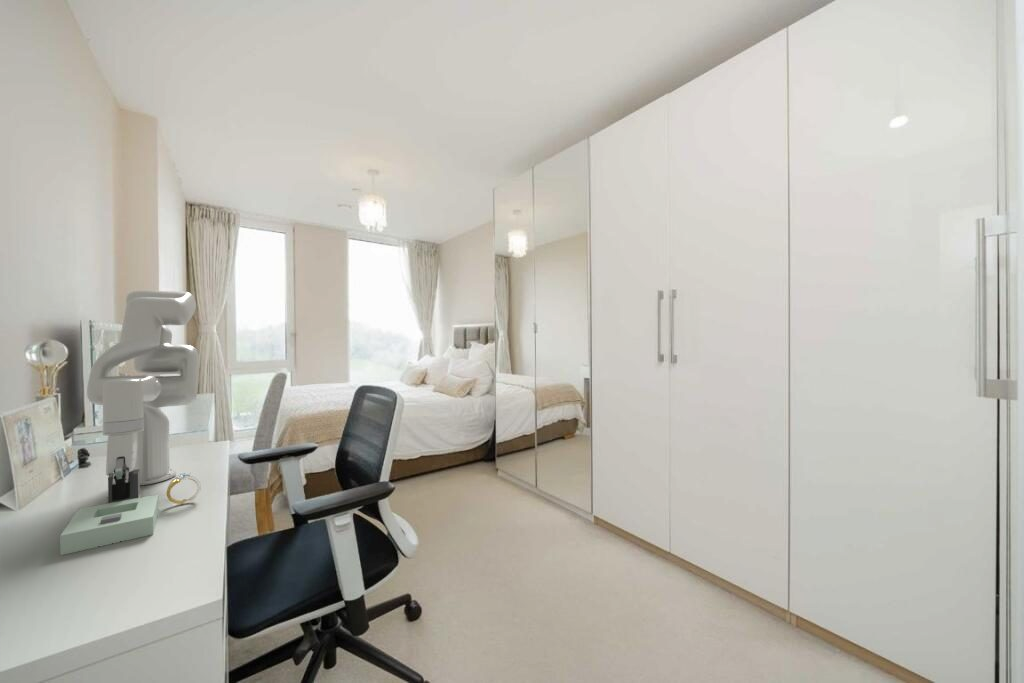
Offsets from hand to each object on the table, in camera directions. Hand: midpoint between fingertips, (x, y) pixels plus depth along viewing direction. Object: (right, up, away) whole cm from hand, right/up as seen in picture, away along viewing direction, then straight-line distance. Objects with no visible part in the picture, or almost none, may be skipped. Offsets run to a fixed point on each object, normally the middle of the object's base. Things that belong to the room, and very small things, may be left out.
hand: (124, 493), depth 103 cm
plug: (0, -4, 0) cm, 4 cm away
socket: (+9, -4, -11) cm, 15 cm away
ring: (+13, -4, +3) cm, 14 cm away
